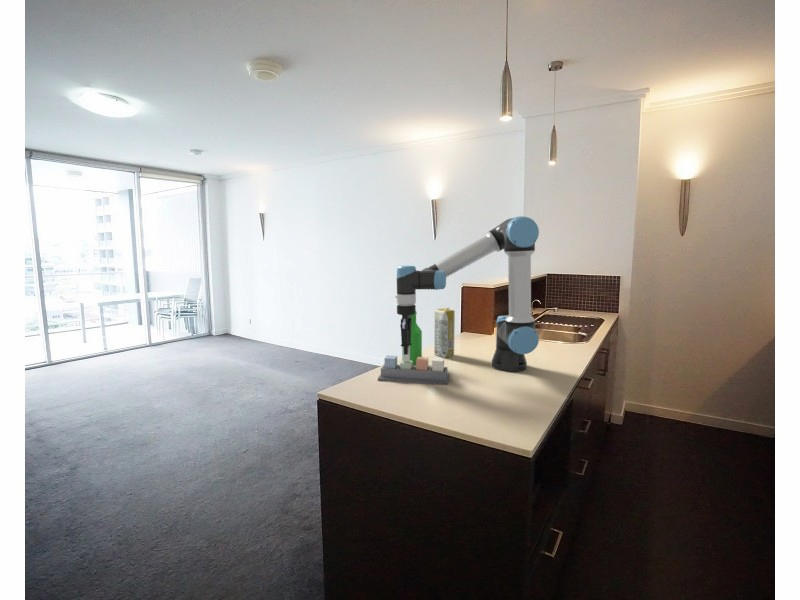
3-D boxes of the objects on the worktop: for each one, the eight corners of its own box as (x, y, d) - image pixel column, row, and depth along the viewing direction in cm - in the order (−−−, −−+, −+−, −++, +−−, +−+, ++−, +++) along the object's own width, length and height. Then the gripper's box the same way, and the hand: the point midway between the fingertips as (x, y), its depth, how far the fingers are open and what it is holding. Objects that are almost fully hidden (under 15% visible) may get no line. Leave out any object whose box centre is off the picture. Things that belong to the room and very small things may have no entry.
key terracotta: (428, 369, 166) (428, 357, 166) (426, 372, 162) (426, 360, 161) (417, 368, 167) (417, 356, 167) (416, 371, 163) (416, 359, 162)
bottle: (420, 368, 179) (420, 312, 175) (400, 367, 181) (400, 312, 177) (422, 362, 187) (423, 309, 184) (404, 361, 189) (404, 308, 186)
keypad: (449, 375, 168) (449, 365, 168) (447, 384, 158) (447, 373, 157) (384, 372, 174) (384, 362, 173) (377, 380, 163) (377, 370, 163)
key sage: (412, 372, 168) (412, 360, 167) (410, 375, 164) (410, 363, 163) (402, 371, 169) (402, 360, 168) (400, 375, 164) (400, 363, 164)
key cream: (444, 370, 165) (444, 358, 164) (443, 373, 161) (443, 361, 160) (433, 369, 166) (433, 357, 165) (432, 372, 162) (432, 360, 161)
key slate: (397, 367, 169) (397, 355, 168) (395, 370, 165) (395, 358, 164) (387, 367, 170) (386, 355, 169) (384, 370, 166) (384, 358, 165)
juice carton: (456, 356, 197) (457, 307, 194) (444, 359, 193) (444, 309, 190) (444, 352, 205) (444, 305, 202) (431, 354, 201) (432, 306, 197)
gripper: (400, 301, 169) (400, 356, 173) (393, 306, 157) (394, 365, 160) (417, 302, 168) (417, 357, 171) (412, 307, 155) (412, 366, 158)
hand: (406, 361), depth 165 cm, fingers closed
